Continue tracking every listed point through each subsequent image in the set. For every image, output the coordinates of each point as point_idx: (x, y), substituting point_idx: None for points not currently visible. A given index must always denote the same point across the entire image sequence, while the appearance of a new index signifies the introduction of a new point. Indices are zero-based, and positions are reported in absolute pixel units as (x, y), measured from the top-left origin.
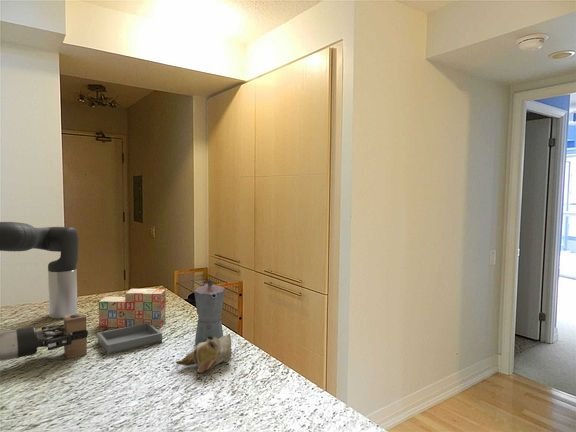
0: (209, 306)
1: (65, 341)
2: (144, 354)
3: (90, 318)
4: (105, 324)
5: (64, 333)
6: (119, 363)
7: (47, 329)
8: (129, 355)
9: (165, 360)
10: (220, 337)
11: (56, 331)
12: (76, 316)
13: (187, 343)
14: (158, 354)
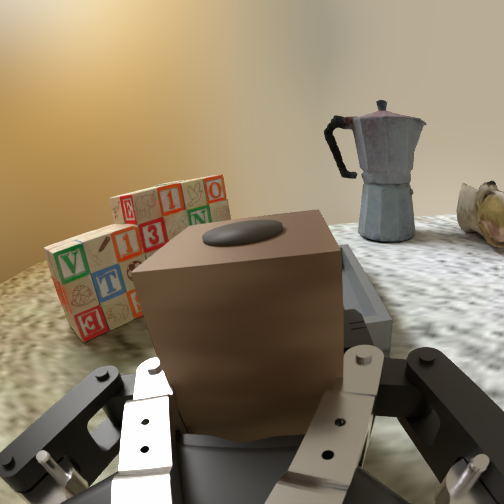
0: (412, 146)
1: (371, 432)
2: (417, 292)
3: (17, 339)
4: (98, 326)
5: (354, 390)
6: (469, 329)
7: (155, 497)
8: (413, 314)
9: (463, 269)
10: (463, 191)
11: (206, 445)
12: (274, 223)
13: (378, 249)
14: (426, 275)
